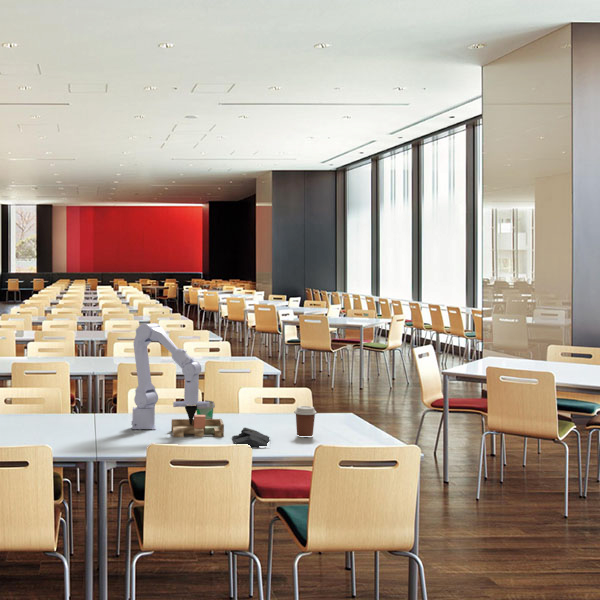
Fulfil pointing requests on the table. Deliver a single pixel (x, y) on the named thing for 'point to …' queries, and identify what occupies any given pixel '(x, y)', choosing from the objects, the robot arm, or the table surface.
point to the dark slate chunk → (251, 438)
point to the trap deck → (186, 430)
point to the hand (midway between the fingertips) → (190, 424)
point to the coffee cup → (305, 420)
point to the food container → (206, 410)
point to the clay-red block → (199, 421)
